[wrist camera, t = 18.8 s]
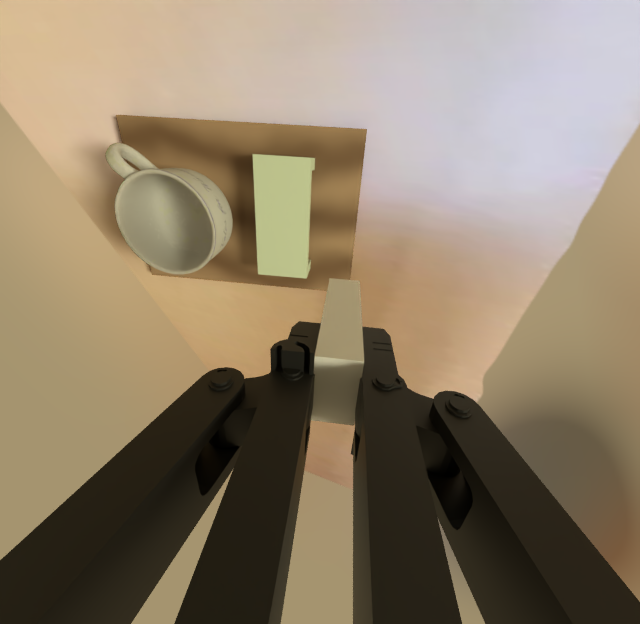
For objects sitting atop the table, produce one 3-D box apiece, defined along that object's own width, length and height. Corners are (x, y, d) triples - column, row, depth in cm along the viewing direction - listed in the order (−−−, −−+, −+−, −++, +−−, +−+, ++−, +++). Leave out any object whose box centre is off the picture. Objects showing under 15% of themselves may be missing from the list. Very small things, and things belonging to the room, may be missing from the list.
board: (123, 116, 34) (106, 113, 31) (366, 130, 32) (367, 127, 30) (157, 271, 43) (145, 278, 40) (348, 289, 41) (348, 297, 39)
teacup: (255, 239, 38) (233, 257, 31) (187, 266, 40) (152, 288, 33) (198, 120, 32) (155, 109, 25) (124, 160, 35) (66, 161, 28)
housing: (262, 154, 33) (252, 154, 30) (315, 157, 33) (310, 157, 29) (265, 264, 39) (257, 274, 36) (310, 268, 39) (306, 278, 36)
